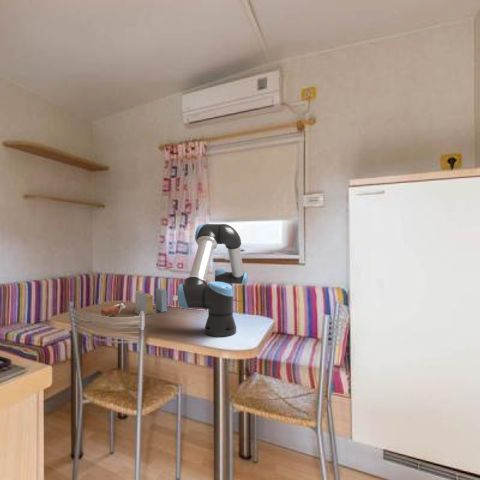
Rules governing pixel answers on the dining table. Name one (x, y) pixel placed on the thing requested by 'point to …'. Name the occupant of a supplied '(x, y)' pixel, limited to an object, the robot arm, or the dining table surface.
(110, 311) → the bull figurine
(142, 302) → the vise
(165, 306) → the free jaw
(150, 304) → the block
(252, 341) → the dining table surface
